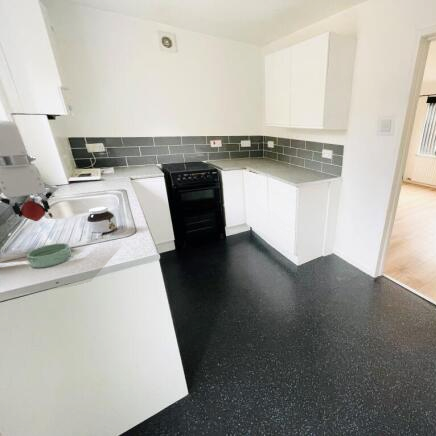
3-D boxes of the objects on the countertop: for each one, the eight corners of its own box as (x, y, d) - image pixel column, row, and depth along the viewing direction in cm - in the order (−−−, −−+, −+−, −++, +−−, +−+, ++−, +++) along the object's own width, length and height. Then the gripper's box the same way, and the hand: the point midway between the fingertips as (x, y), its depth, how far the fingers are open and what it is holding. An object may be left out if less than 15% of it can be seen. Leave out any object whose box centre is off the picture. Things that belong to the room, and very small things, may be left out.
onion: (46, 217, 91) (39, 196, 88) (49, 220, 87) (41, 198, 84) (24, 221, 86) (15, 199, 84) (26, 225, 83) (17, 202, 80)
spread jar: (100, 237, 111) (93, 212, 107) (82, 234, 114) (75, 210, 110) (124, 227, 122) (118, 205, 118) (107, 225, 125) (101, 203, 121)
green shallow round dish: (23, 270, 85) (17, 259, 83) (44, 255, 95) (40, 245, 94) (61, 266, 87) (57, 255, 86) (78, 251, 98) (74, 241, 96)
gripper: (48, 158, 88) (65, 206, 94) (-27, 163, 76) (-2, 217, 82) (50, 159, 83) (67, 210, 89) (-30, 165, 71) (-4, 222, 78)
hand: (34, 213), depth 86 cm, fingers closed on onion, 5 cm apart
